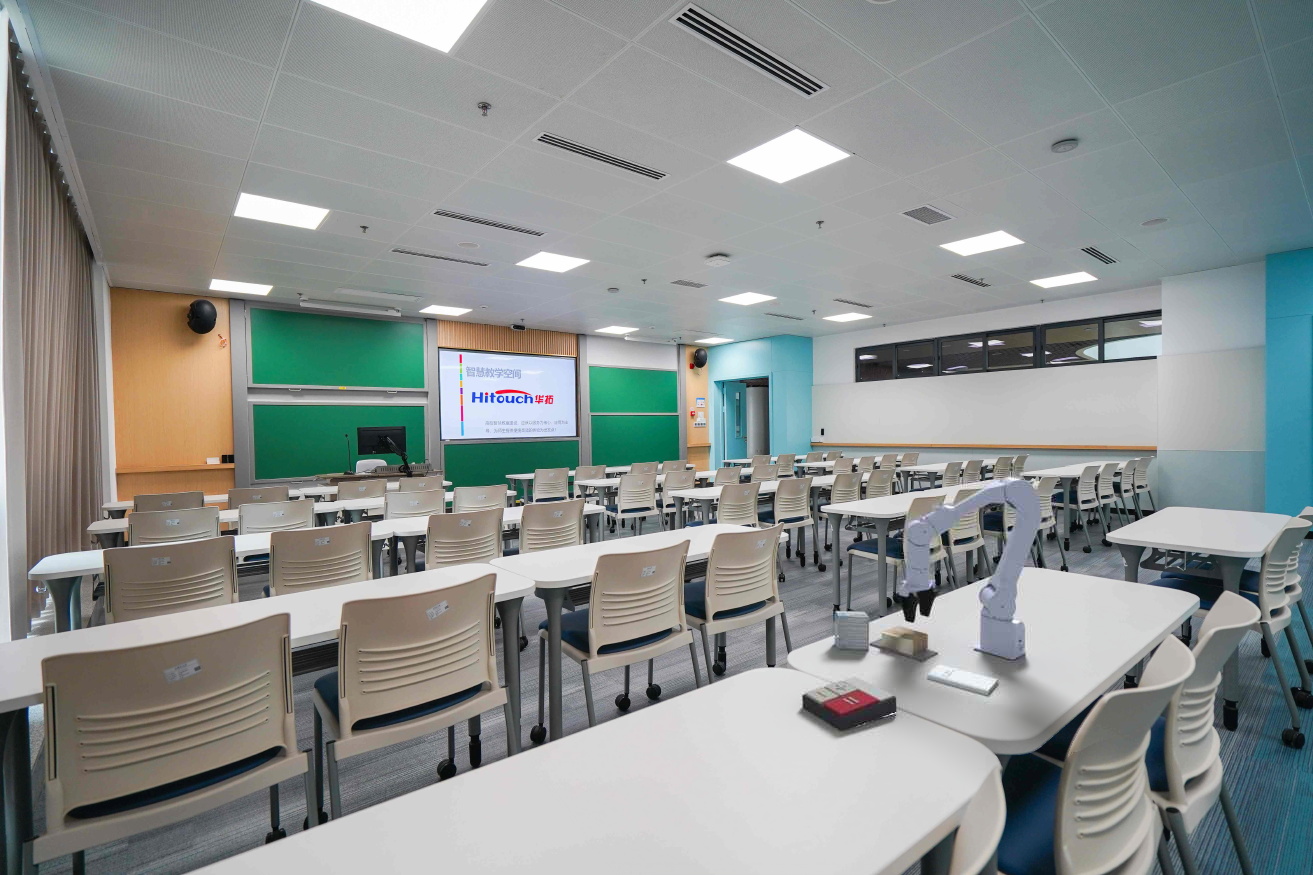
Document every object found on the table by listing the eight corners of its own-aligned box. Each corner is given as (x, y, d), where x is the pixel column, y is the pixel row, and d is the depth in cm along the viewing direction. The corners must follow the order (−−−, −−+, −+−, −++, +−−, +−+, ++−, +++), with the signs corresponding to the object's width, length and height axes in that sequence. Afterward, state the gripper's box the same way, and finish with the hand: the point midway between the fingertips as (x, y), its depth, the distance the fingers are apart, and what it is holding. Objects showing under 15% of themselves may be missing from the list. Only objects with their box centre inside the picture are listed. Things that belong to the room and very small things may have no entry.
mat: (937, 653, 149) (937, 652, 149) (921, 661, 144) (921, 659, 144) (886, 637, 160) (886, 636, 160) (869, 644, 155) (869, 642, 155)
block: (927, 634, 152) (911, 641, 147) (927, 647, 152) (911, 655, 147) (898, 625, 158) (881, 632, 153) (898, 638, 158) (881, 645, 153)
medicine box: (865, 644, 155) (865, 611, 155) (869, 650, 151) (869, 616, 151) (834, 643, 156) (834, 610, 156) (837, 649, 152) (837, 615, 151)
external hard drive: (988, 698, 126) (927, 680, 135) (998, 685, 132) (939, 669, 141) (988, 690, 126) (927, 673, 135) (998, 678, 132) (939, 662, 141)
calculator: (801, 691, 121) (854, 672, 128) (801, 711, 121) (855, 692, 128) (841, 714, 111) (897, 693, 118) (841, 736, 111) (897, 714, 118)
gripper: (917, 560, 163) (917, 609, 164) (888, 568, 155) (888, 620, 155) (943, 565, 158) (942, 616, 158) (914, 573, 149) (914, 627, 149)
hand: (917, 618), depth 156 cm, fingers open, 7 cm apart
